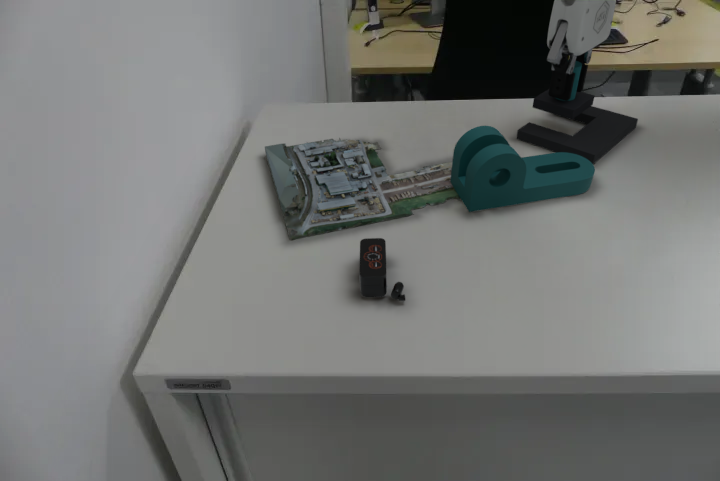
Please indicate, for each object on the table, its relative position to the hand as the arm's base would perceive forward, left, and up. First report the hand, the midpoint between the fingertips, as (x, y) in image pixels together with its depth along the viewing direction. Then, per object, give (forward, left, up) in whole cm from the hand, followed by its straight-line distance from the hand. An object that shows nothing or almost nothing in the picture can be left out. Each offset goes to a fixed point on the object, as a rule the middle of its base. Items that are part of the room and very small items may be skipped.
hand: (565, 92), depth 82 cm
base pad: (0, +3, -6) cm, 6 cm away
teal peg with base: (0, 0, -2) cm, 2 cm away
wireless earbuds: (+44, +3, -6) cm, 44 cm away
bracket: (+18, +5, -6) cm, 19 cm away
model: (+27, -12, -6) cm, 30 cm away
